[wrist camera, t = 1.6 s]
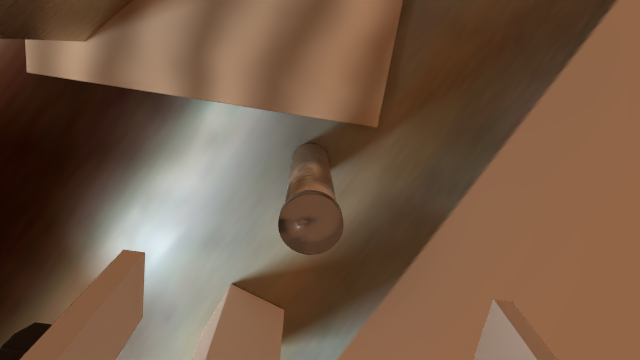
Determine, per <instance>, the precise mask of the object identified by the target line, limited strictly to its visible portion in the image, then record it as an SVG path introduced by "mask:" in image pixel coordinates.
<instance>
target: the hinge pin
mask: <svg viewBox="0 0 640 360" xmlns="http://www.w3.org/2000/svg"><path fill="white" fill-rule="evenodd" d="M278 227H279V233H280V236H281V238H282V240H283V241H284V242H285V244H286V245H287V246H288V247H290V248H291V249H292V250H294V251H296V252H298V253H302V254H307V255H315V254H320V253H323V252H325V251H327V250H329V249H331V248H332V247H333V246H334V245H335V244H336V243H337V242H338V240H339V239H340V237H341V235H342V231H343V218H342V213H341V209H340V207H339V205H338V204H337V202H336V199H335V193H334V188H333V182H332V177H331V171H330V165H329V160H328V155H327V153H326V151H325V150H324V149H323V148H322V147H321V146H319V145H317V144H314V143H306V144H303V145H301V146H299V147H298V148H297V149H296V150H295V152H294V154H293V156H292V162H291V169H290V175H289V181H288V188H287V194H286V200H285V203H284V205H283V207H282V209H281V211H280V216H279V222H278Z"/></svg>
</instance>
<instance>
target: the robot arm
mask: <svg viewBox="0 0 640 360" xmlns="http://www.w3.org/2000/svg"><path fill="white" fill-rule="evenodd" d="M144 266H145V253H144V252H137V251H129V250H123V251H122V252H121V253H120V254H119V255H118V256H117V257H116V258H115V259H114V260H113V261H112V262H111V263H110V265H109V266H108V267H107V268H106V269H105V270H104V271H103V272H102V273H101V274H100V275H99V276H98V277H97V278H96V279H95V280H94V281H93V282H92V284H91V285H90V286H89V287H88V288H87V289H86V290H85V291H84V292H83V293H82V294H81V295H80V296H79V297H78V298H77V299H76V300H75V302H74V303H73V304H72V305H71V306H70V307H69V308H68V309H67V310H66V311H65V312H64V313H63V314H62V315H61V316H60V317H59V318H58V320H57V321H56V322H55V323H54V324H53V325H51V324H43V323H33V324H32V325H30V326H28V327H26V328H24V329H22V330H21V331H19V332H17V333H15V334H14V335H13V336H12V337H11V338H10V339H9V340H8V341H7V342H6V343H5V344H4V345H3V346H2V347H1V349H0V360H115V359H116V358H117V356H118V355H119V353H120V352H121V350H122V348H123V347H124V345H125V344H126V342H127V341H128V339H129V337H130V336H131V334H132V333H133V331H134V330H135V328H136V326H137V325H138V323H139V322H140V320H141V319H142V317H143V292H144ZM474 359H475V360H558V358H557V357H556V356H555V355H554V353H553V352H552V351H551V350H550V348H549V347H548V346H547V344H546V343H545V342H544V341H543V340H542V338H541V337H540V336H539V334H538V333H537V332H536V331H535V329H534V328H533V327H532V326H531V324H530V323H529V322H528V321H527V320H526V318H525V317H524V316H523V314H522V313H521V312H520V310H519V309H518V308H517V307H516V306H515V304H514V303H513V302H510V301H503V300H495V299H494V300H493V302H492V305H491V308H490V311H489V314H488V317H487V320H486V323H485V326H484V329H483V332H482V335H481V338H480V342H479V345H478V348H477V351H476V354H475V357H474Z"/></svg>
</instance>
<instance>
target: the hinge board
mask: <svg viewBox="0 0 640 360" xmlns="http://www.w3.org/2000/svg"><path fill="white" fill-rule="evenodd" d="M402 3H403V0H133V1H132V2H131V3H130V4H129V5H127V6H126V7H125V8H124V9H123V10H122V11H120V12H119V13H118V14H117V15H116V16H115V17H113V18H112V19H111V20H110V21H109V22H108V23H106V24H105V25H104V26H103V27H102V28H101V29H99V30H98V31H97V32H96V33H95V34H93V35H92V36H91V37H90V38H89V39H88V40H86V41H85V42H78V41H53V40H27V39H25V44H26V65H27V72H28V73H34V74H41V75H47V76H53V77H60V78H66V79H73V80H79V81H85V82H92V83H98V84H104V85H111V86H117V87H123V88H130V89H136V90H142V91H149V92H155V93H161V94H168V95H174V96H181V97H187V98H193V99H200V100H206V101H212V102H219V103H225V104H231V105H238V106H244V107H250V108H257V109H263V110H269V111H276V112H282V113H289V114H295V115H301V116H308V117H314V118H320V119H327V120H333V121H339V122H346V123H352V124H358V125H365V126H371V127H377V126H378V121H379V116H380V111H381V106H382V101H383V96H384V92H385V87H386V82H387V77H388V72H389V67H390V62H391V57H392V52H393V47H394V42H395V38H396V33H397V28H398V23H399V18H400V13H401V8H402Z"/></svg>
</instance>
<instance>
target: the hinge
mask: <svg viewBox="0 0 640 360" xmlns="http://www.w3.org/2000/svg"><path fill="white" fill-rule="evenodd" d="M132 1H133V0H0V38H2V39H27V40H53V41H78V42H85V41H86V40H88V39H89V38H90V37H91V36H92V35H93V34H95V33H96V32H97V31H98V30H99V29H101V28H102V27H103V26H104V25H105V24H106V23H108V22H109V21H110V20H111V19H112V18H113V17H115V16H116V15H117V14H118V13H119V12H120V11H122V10H123V9H124V8H125V7H126V6H127V5H129V4H130V3H131V2H132Z"/></svg>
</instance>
